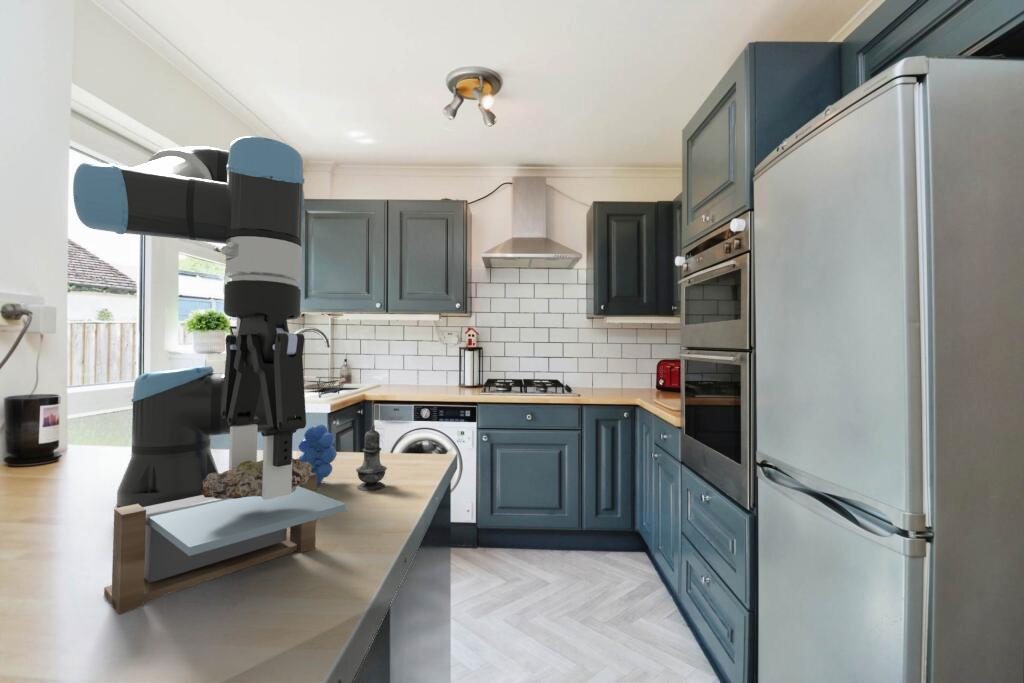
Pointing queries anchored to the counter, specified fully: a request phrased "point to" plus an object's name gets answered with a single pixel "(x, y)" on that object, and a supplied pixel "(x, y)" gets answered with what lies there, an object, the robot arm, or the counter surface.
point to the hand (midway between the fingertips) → (258, 488)
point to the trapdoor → (223, 528)
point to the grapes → (318, 451)
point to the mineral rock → (248, 480)
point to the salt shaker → (371, 463)
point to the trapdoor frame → (136, 589)
